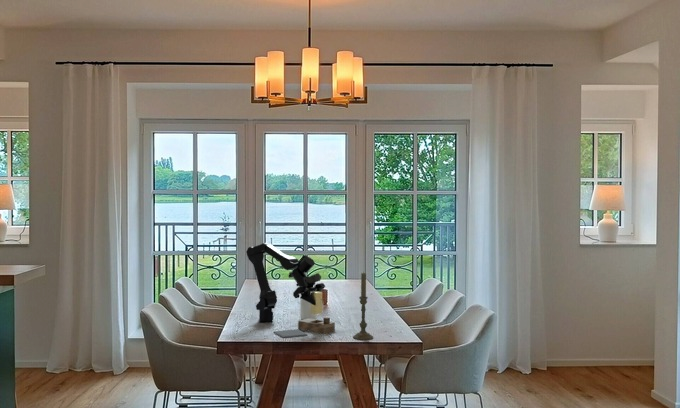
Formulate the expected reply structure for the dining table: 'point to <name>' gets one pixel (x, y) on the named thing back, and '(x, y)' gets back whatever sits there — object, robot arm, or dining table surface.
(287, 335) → the rubber mat
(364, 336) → the candlestick holder
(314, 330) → the body
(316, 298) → the tan wood-grain block
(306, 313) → the mug
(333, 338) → the dining table surface
